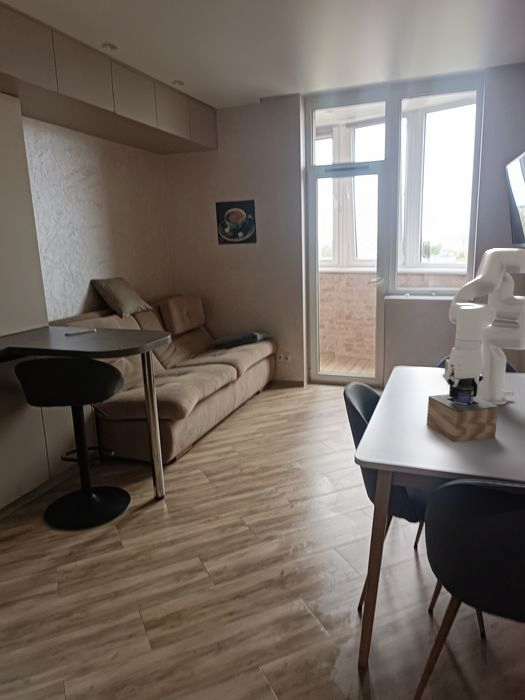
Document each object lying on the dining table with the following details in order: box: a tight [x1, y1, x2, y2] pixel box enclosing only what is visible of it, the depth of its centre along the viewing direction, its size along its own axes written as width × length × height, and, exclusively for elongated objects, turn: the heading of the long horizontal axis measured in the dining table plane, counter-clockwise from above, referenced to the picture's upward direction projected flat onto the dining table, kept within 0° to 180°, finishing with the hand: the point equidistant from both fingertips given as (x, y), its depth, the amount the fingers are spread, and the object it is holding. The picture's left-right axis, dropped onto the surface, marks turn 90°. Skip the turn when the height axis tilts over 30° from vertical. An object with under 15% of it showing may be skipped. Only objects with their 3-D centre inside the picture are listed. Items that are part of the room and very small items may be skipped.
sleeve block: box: [426, 393, 499, 443], centre depth 163 cm, size 15×15×11 cm
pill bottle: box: [453, 378, 474, 405], centre depth 162 cm, size 6×6×11 cm
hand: (462, 396), depth 162 cm, fingers open, 6 cm apart
